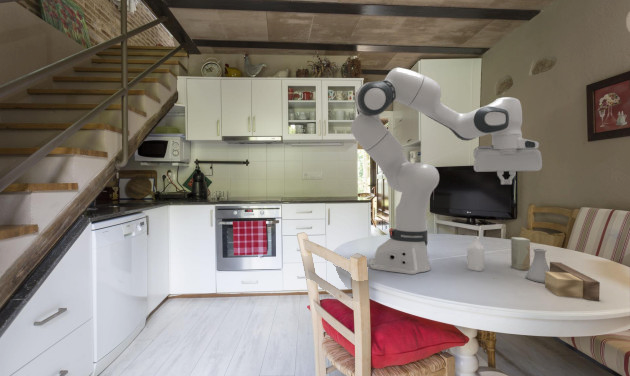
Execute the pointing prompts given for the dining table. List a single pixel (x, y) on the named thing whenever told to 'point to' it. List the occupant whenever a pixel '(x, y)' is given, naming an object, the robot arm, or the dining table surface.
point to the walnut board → (589, 285)
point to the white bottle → (475, 256)
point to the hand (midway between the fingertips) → (506, 184)
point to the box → (520, 253)
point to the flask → (538, 266)
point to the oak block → (564, 284)
